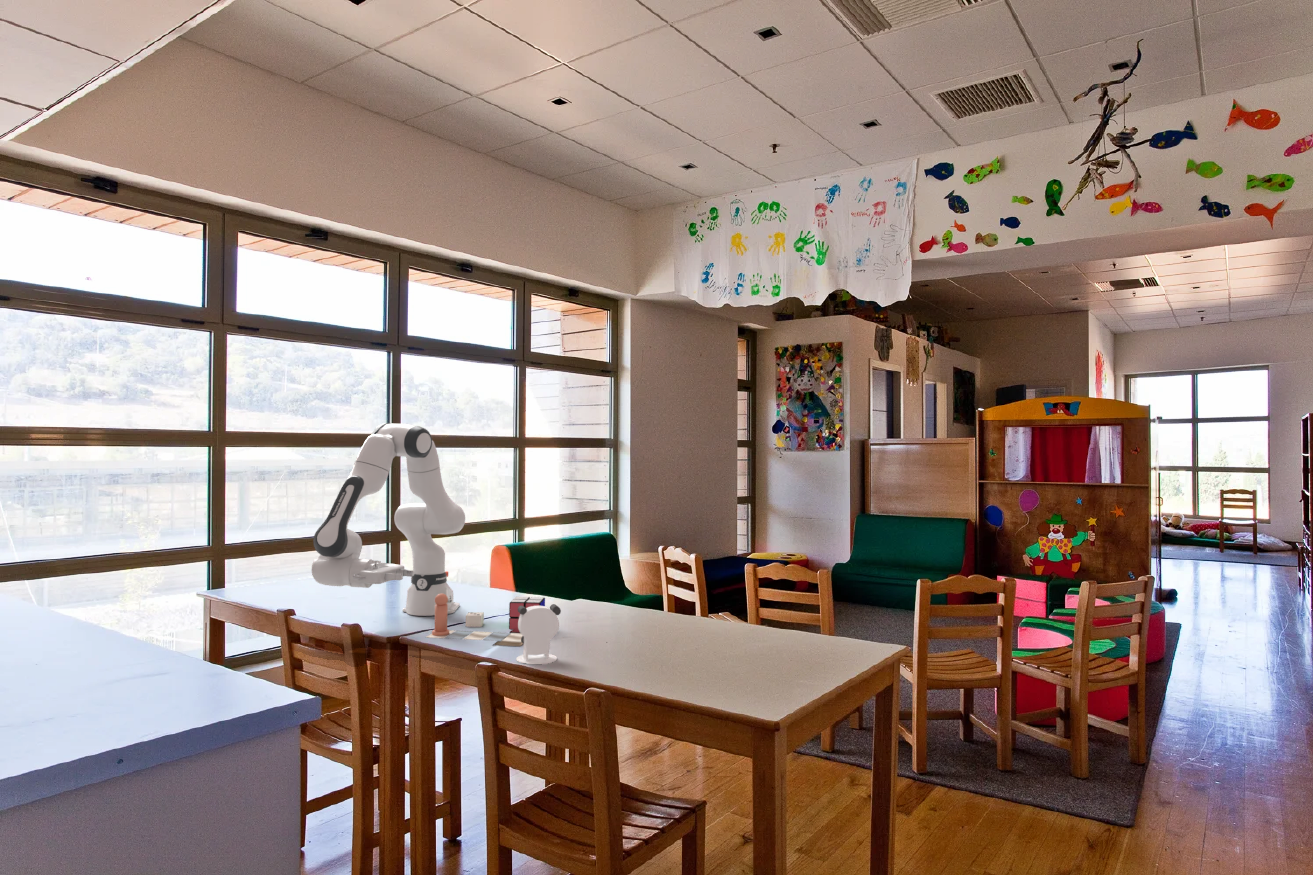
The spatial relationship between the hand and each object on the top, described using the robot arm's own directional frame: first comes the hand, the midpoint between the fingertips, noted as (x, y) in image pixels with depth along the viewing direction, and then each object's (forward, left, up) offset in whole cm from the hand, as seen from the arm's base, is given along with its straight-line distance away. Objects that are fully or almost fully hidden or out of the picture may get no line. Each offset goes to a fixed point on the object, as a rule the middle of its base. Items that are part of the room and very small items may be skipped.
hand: (407, 575), depth 251 cm
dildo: (0, +11, -18) cm, 21 cm away
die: (-14, +17, -19) cm, 29 cm away
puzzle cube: (-16, +34, -19) cm, 42 cm away
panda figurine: (+19, +47, -19) cm, 54 cm away
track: (0, +23, -19) cm, 30 cm away
